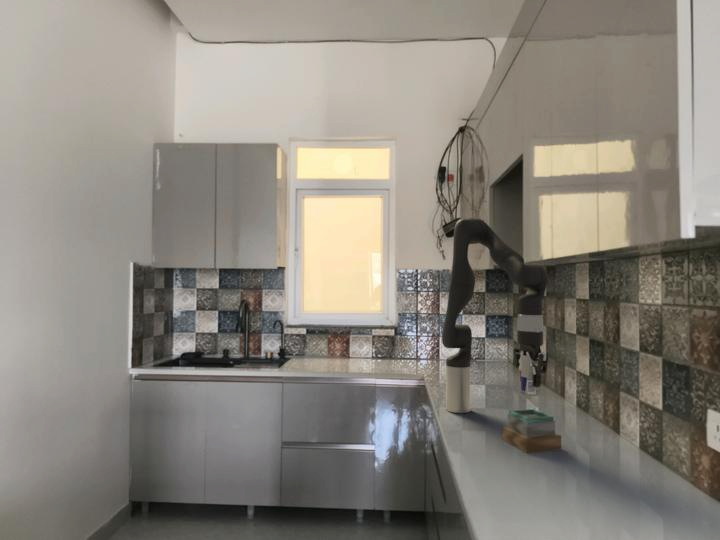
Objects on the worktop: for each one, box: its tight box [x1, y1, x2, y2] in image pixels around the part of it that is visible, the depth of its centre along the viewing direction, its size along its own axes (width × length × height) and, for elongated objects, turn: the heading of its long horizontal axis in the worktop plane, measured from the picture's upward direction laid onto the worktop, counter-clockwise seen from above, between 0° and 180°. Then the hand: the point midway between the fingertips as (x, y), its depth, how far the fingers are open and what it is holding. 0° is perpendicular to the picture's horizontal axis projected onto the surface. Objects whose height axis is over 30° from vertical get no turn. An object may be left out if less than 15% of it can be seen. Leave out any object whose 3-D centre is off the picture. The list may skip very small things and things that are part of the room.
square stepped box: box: [501, 408, 562, 454], centre depth 136 cm, size 12×12×9 cm
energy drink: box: [520, 355, 541, 397], centre depth 137 cm, size 5×5×12 cm
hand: (530, 384), depth 137 cm, fingers closed on energy drink, 5 cm apart
